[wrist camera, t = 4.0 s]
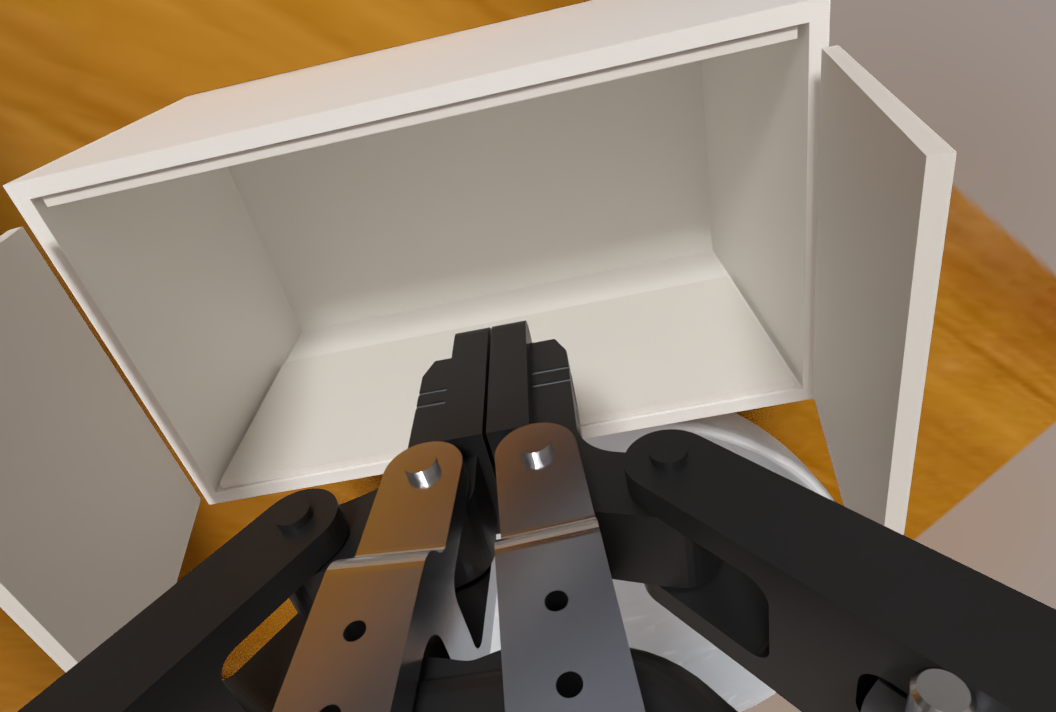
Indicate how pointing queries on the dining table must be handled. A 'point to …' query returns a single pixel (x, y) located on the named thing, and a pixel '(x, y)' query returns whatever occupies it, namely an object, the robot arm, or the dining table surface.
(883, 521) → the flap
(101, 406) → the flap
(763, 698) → the serving bowl
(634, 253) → the carton
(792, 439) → the dining table surface
